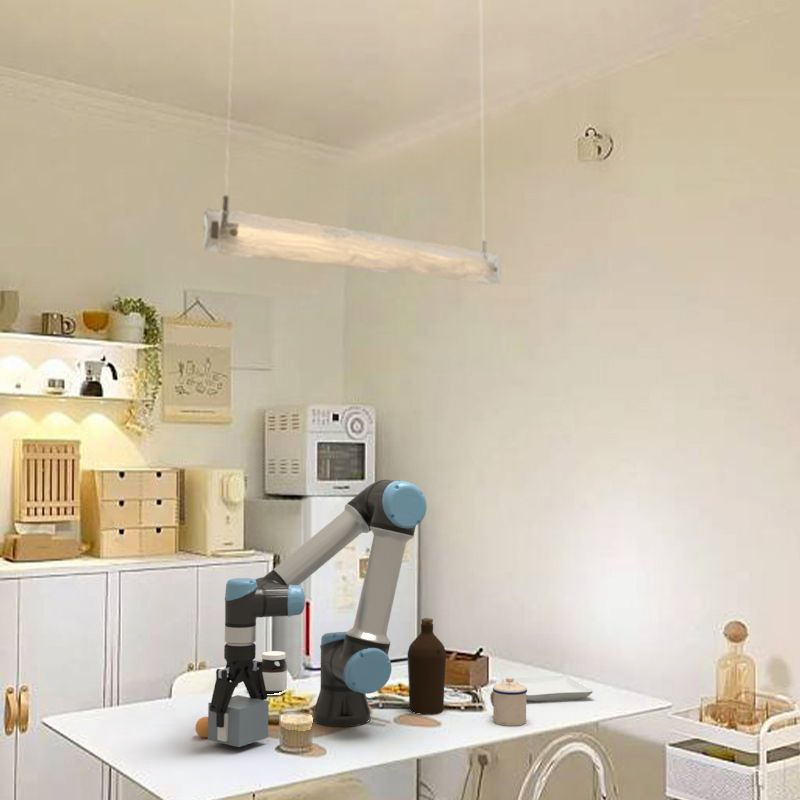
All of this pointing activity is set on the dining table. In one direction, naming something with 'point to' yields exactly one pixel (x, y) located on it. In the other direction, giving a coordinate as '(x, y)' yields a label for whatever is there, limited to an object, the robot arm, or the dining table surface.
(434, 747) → the dining table surface
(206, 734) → the ball
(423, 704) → the olive oil
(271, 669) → the spread jar
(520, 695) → the teacup with lid
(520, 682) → the salad plate
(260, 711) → the grey block
